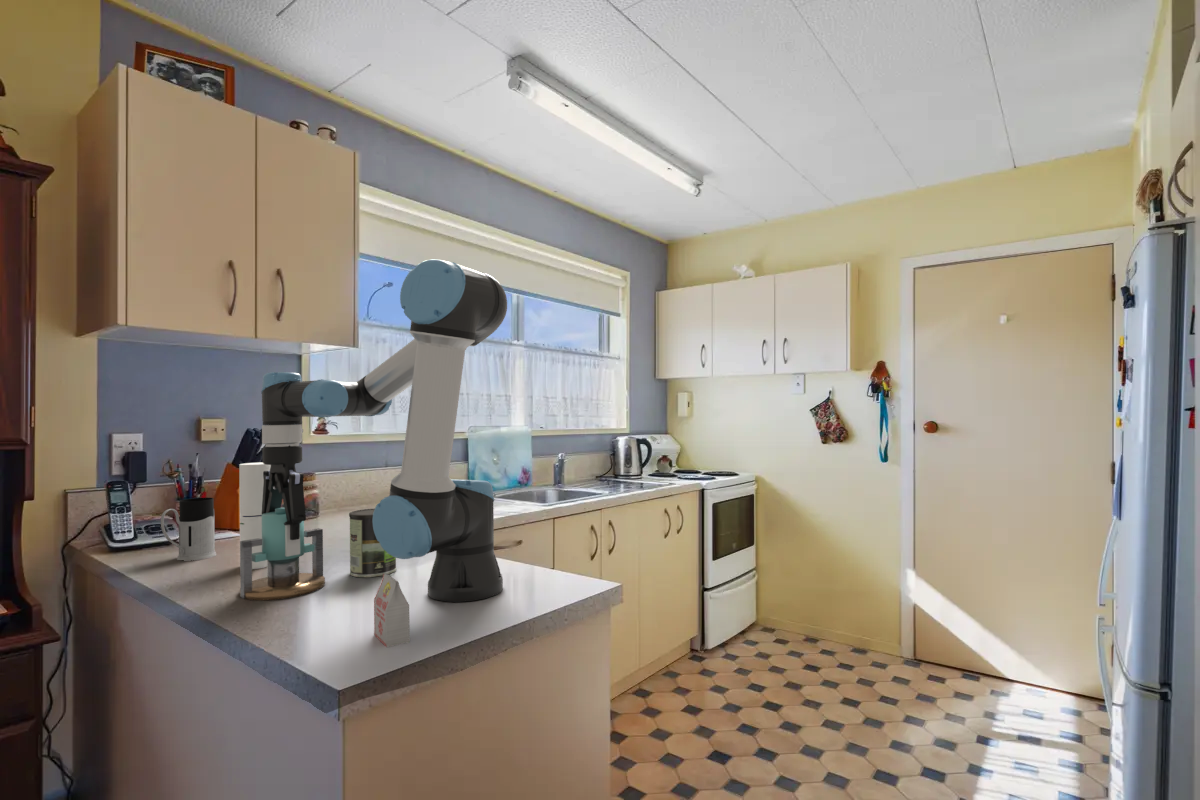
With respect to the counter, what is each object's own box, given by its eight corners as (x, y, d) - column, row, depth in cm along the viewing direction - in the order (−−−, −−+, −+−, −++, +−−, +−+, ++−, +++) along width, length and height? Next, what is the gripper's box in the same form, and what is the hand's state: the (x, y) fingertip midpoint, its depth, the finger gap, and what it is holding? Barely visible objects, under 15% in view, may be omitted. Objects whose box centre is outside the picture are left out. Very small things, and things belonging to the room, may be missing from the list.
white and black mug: (224, 553, 164) (224, 497, 164) (175, 567, 150) (175, 505, 150) (198, 552, 166) (197, 496, 166) (147, 565, 152) (147, 504, 153)
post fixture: (339, 586, 131) (339, 532, 132) (259, 605, 119) (258, 546, 119) (304, 574, 142) (303, 524, 142) (226, 591, 129) (226, 536, 129)
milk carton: (396, 630, 105) (395, 571, 105) (409, 641, 99) (409, 579, 99) (374, 635, 103) (373, 575, 103) (386, 647, 97) (385, 583, 97)
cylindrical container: (259, 569, 146) (258, 464, 147) (232, 569, 148) (232, 464, 148) (279, 562, 153) (279, 462, 154) (254, 561, 155) (253, 462, 155)
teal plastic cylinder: (320, 552, 132) (320, 506, 133) (261, 564, 123) (261, 514, 123) (303, 548, 138) (302, 503, 138) (245, 558, 128) (244, 510, 128)
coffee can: (404, 567, 147) (404, 508, 147) (381, 578, 137) (380, 515, 137) (366, 565, 149) (365, 507, 149) (340, 576, 139) (339, 514, 139)
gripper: (323, 445, 127) (324, 555, 127) (279, 443, 140) (279, 542, 140) (286, 447, 121) (287, 563, 121) (243, 444, 134) (244, 549, 134)
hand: (283, 552), depth 130 cm, fingers closed on teal plastic cylinder, 8 cm apart
